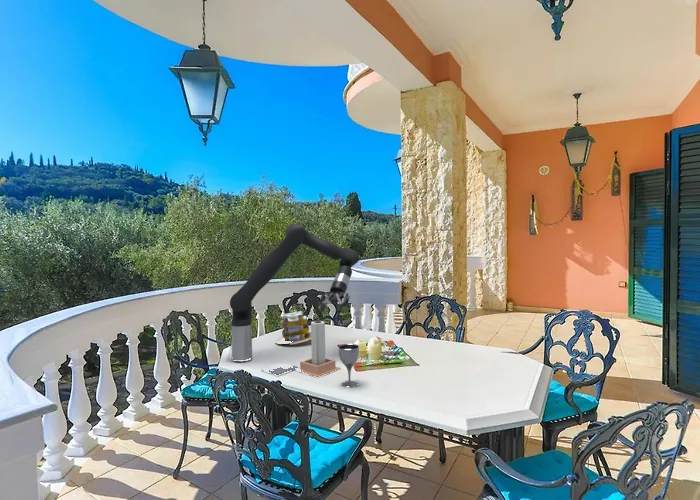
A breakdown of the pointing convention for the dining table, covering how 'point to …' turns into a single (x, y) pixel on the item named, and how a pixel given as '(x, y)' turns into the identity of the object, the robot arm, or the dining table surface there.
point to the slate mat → (282, 370)
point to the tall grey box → (318, 342)
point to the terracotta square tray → (318, 367)
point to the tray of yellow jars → (295, 327)
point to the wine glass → (349, 360)
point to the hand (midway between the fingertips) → (329, 311)
